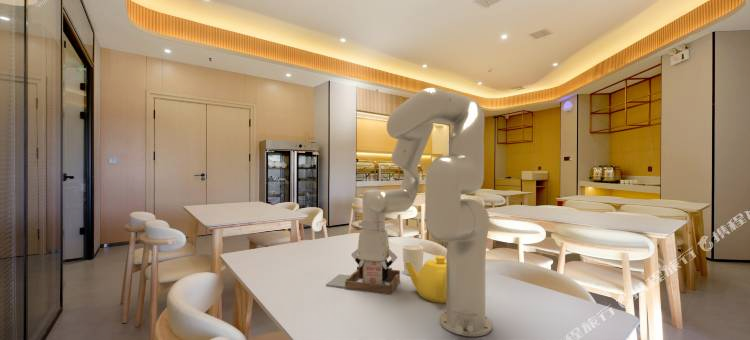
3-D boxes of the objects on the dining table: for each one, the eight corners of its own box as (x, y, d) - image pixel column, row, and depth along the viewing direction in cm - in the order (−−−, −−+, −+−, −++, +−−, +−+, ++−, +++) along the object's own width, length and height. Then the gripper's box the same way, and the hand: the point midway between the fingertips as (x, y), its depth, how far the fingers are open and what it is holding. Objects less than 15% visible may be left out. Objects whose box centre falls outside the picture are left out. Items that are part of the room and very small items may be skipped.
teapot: (440, 311, 88) (440, 267, 88) (402, 291, 102) (402, 254, 102) (479, 297, 97) (479, 258, 97) (439, 281, 111) (439, 247, 111)
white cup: (424, 276, 116) (424, 249, 116) (403, 276, 116) (403, 249, 116) (422, 270, 124) (422, 244, 124) (402, 269, 124) (402, 244, 124)
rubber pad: (345, 288, 104) (345, 286, 104) (325, 286, 106) (325, 284, 106) (356, 277, 115) (356, 276, 115) (339, 275, 117) (339, 274, 117)
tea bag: (366, 282, 110) (366, 253, 110) (385, 284, 108) (384, 255, 108) (362, 286, 106) (362, 256, 106) (382, 288, 104) (381, 257, 104)
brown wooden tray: (391, 294, 99) (391, 280, 99) (345, 289, 104) (345, 275, 104) (399, 281, 111) (399, 268, 111) (358, 277, 115) (358, 264, 116)
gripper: (345, 226, 106) (345, 280, 106) (396, 229, 101) (396, 285, 101) (353, 223, 113) (354, 273, 113) (401, 225, 108) (401, 277, 108)
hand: (374, 278), depth 107 cm, fingers closed on tea bag, 6 cm apart
